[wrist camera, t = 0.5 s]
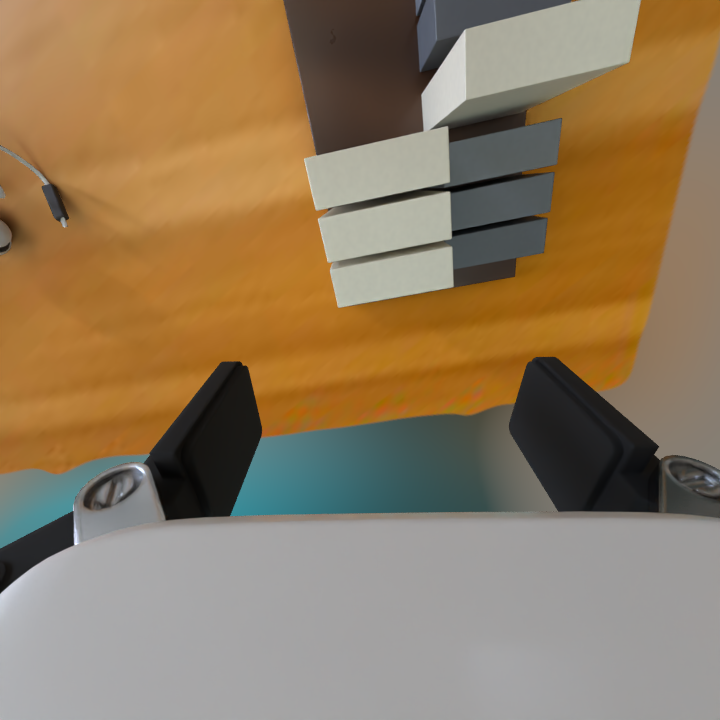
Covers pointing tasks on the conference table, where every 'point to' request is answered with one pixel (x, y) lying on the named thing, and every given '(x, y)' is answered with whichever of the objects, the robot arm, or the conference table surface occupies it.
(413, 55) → the shelf board
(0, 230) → the clip-on lamp
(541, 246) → the grey books
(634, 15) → the ivory book
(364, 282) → the ivory books
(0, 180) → the conference table surface
